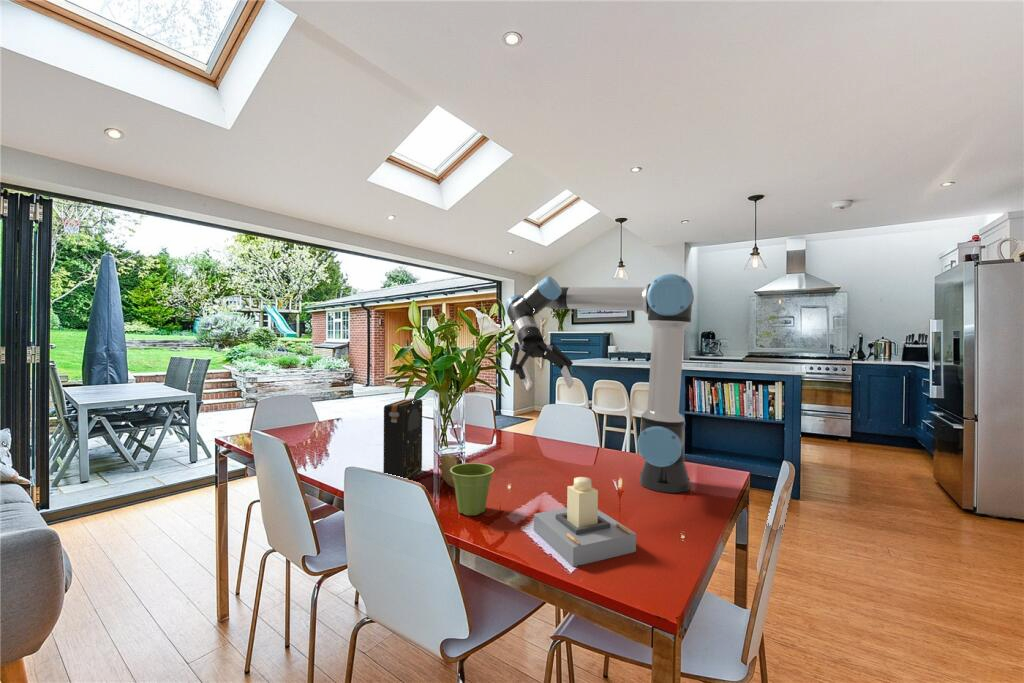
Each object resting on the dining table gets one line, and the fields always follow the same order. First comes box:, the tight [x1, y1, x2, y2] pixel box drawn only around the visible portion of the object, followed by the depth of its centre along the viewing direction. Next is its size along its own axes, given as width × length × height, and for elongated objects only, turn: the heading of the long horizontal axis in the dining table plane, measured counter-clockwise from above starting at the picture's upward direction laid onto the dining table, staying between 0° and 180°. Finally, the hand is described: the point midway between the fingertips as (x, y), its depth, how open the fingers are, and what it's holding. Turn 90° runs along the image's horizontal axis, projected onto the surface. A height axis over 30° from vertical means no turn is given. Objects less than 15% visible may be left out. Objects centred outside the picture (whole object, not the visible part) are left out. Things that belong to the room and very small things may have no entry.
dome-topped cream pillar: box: [566, 476, 599, 528], centre depth 100 cm, size 5×5×10 cm
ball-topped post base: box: [533, 507, 637, 568], centre depth 100 cm, size 16×18×5 cm
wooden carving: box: [438, 453, 464, 489], centre depth 135 cm, size 16×5×10 cm, turn 43°
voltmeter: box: [382, 398, 423, 480], centre depth 144 cm, size 16×9×25 cm, turn 168°
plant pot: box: [450, 462, 495, 517], centre depth 116 cm, size 12×12×11 cm
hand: (550, 386), depth 124 cm, fingers open, 13 cm apart
